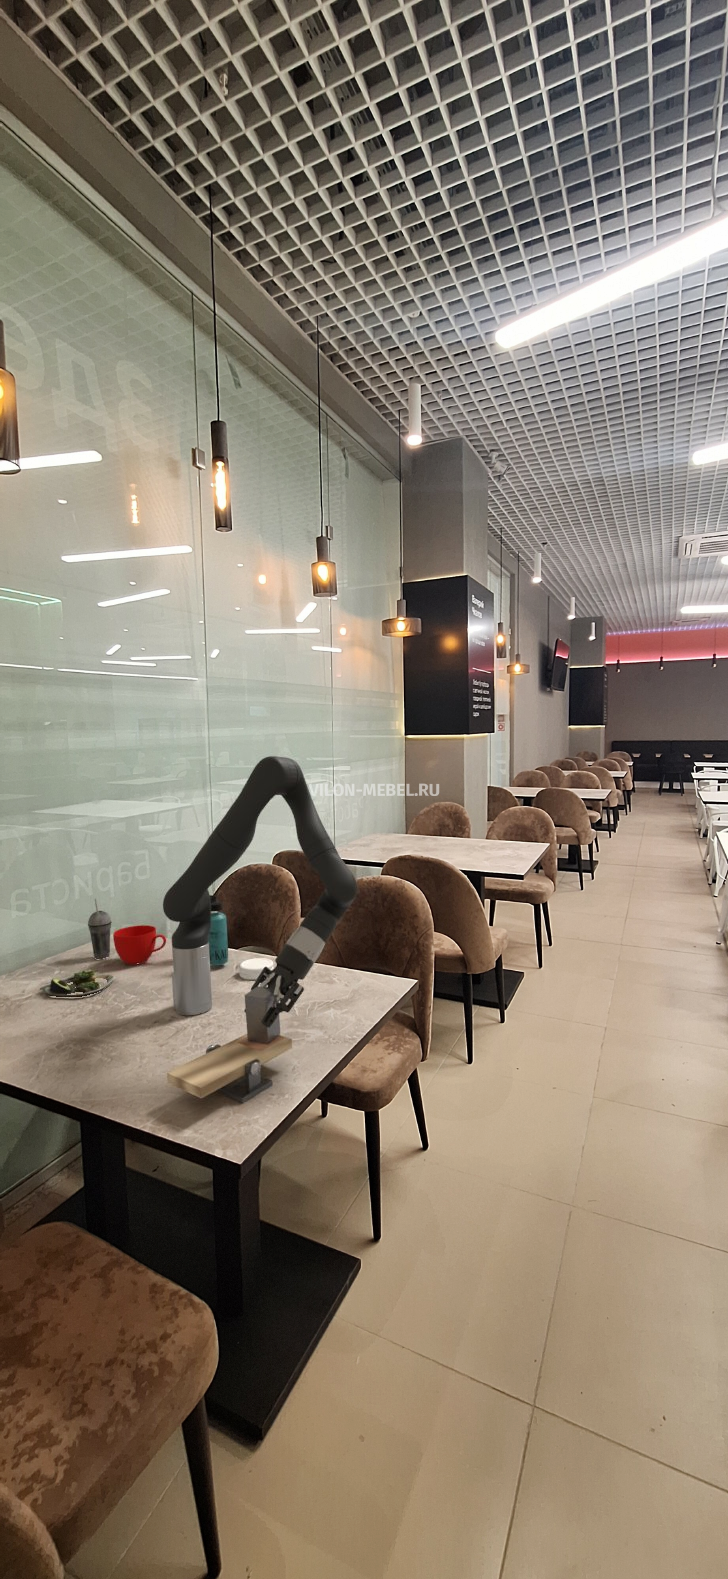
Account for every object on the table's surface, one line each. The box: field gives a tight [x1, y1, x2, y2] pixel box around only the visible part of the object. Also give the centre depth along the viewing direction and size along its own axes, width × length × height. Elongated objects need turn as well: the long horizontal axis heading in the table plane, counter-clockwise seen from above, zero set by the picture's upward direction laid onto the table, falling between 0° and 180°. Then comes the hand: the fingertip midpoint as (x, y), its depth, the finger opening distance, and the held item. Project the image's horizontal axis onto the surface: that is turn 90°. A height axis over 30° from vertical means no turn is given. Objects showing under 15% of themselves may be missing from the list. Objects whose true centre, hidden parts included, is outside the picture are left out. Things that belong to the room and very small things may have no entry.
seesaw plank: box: [166, 1033, 293, 1099], centre depth 134 cm, size 10×24×2 cm, turn 143°
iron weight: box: [244, 985, 281, 1045], centre depth 141 cm, size 5×5×10 cm
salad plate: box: [38, 969, 115, 997], centre depth 193 cm, size 19×18×5 cm
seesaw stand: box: [205, 1044, 273, 1104], centre depth 135 cm, size 14×8×6 cm, turn 53°
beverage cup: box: [87, 898, 112, 959], centre depth 217 cm, size 7×7×20 cm
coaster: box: [239, 957, 275, 981], centre depth 198 cm, size 10×10×4 cm
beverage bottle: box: [209, 901, 229, 966], centre depth 205 cm, size 6×7×20 cm
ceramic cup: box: [112, 924, 167, 965], centre depth 213 cm, size 13×17×10 cm
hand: (256, 1019), depth 140 cm, fingers closed on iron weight, 7 cm apart
